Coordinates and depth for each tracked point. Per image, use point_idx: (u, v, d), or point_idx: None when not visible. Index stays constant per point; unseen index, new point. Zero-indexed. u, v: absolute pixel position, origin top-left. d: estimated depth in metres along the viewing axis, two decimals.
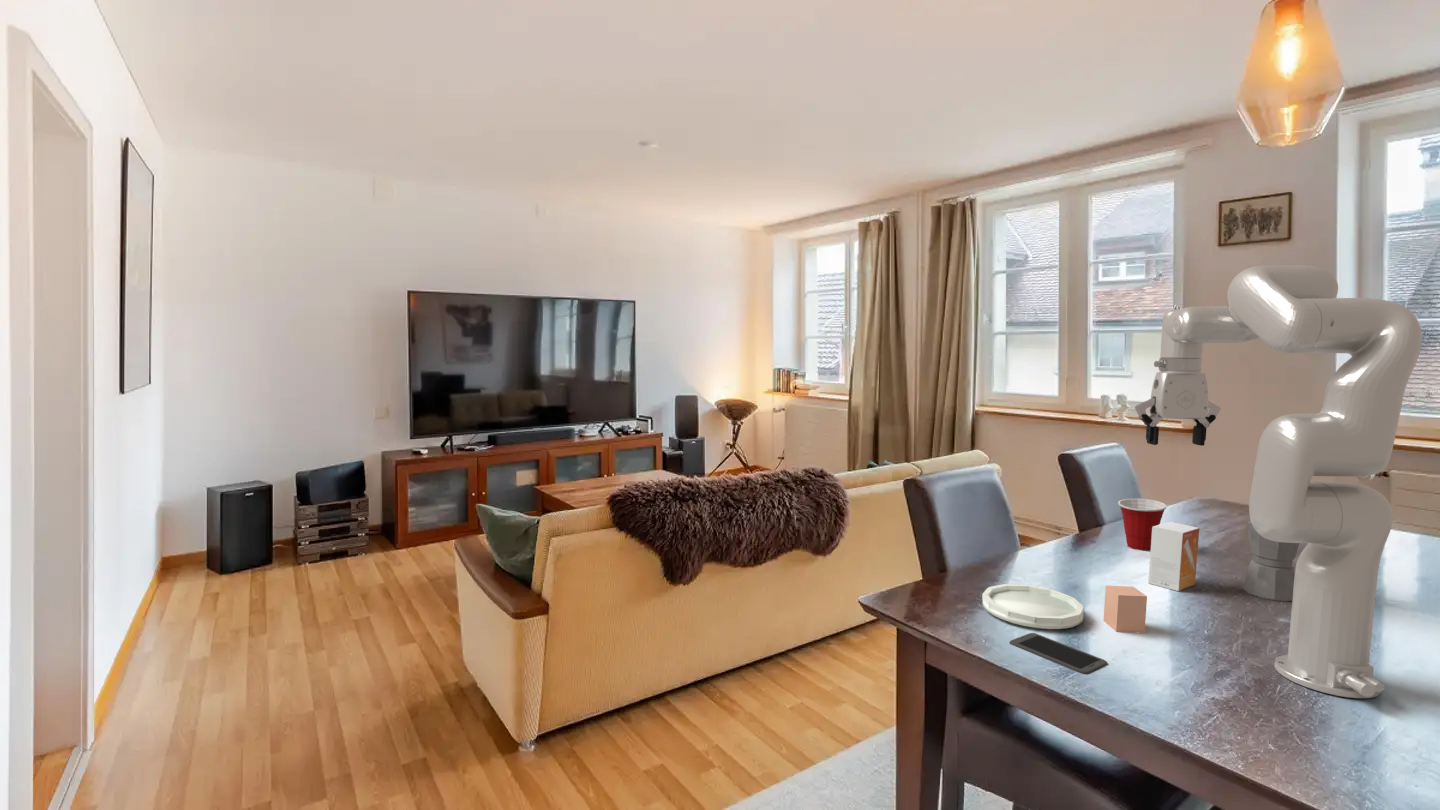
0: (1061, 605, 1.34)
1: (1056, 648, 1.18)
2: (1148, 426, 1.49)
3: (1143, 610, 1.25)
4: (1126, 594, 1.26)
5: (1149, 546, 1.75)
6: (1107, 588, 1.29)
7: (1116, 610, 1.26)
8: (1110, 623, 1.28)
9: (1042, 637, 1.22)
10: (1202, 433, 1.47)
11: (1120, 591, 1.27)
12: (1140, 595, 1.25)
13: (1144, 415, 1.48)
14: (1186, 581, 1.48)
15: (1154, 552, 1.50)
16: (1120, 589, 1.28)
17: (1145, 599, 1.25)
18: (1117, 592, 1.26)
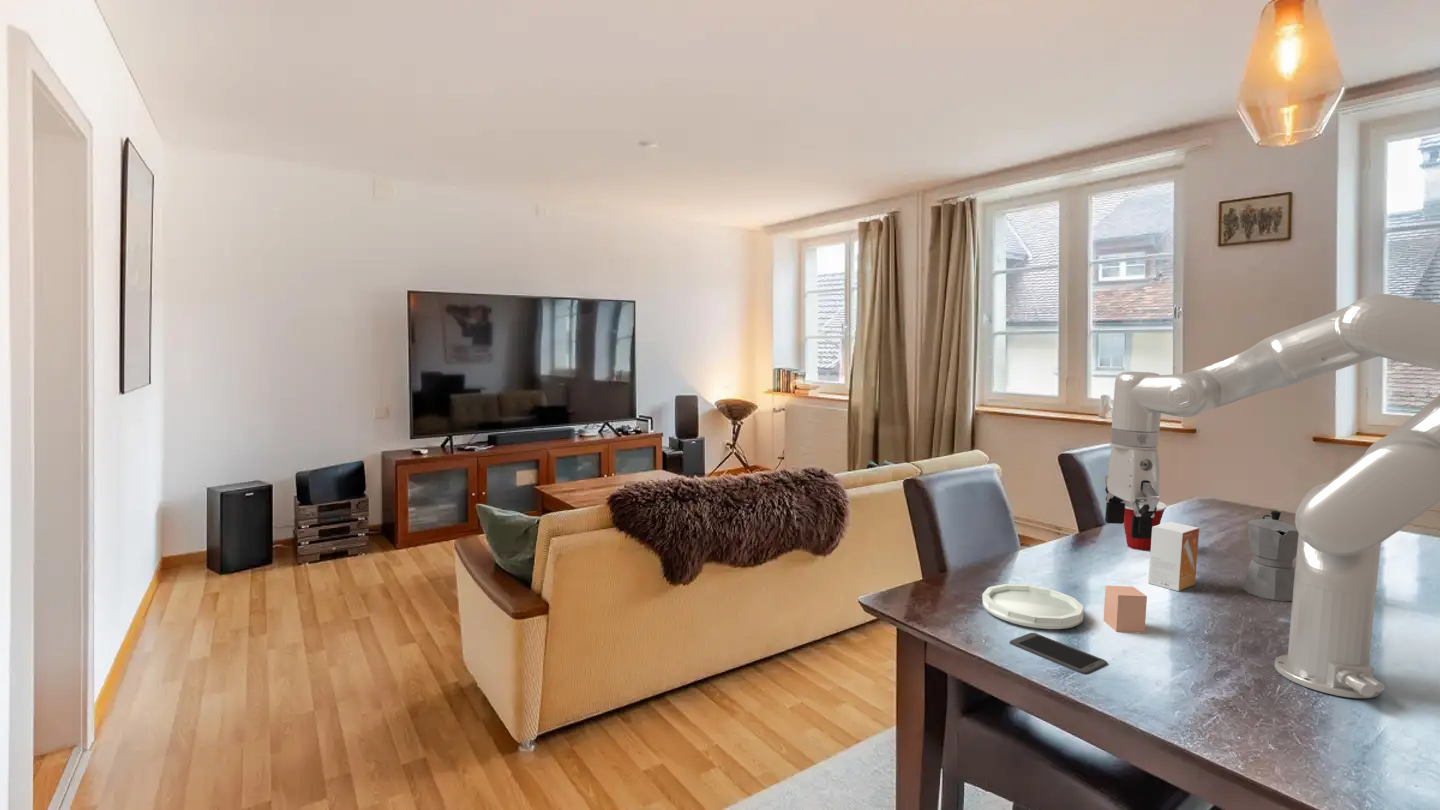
0: (1061, 605, 1.34)
1: (1056, 648, 1.18)
2: (1145, 518, 1.20)
3: (1143, 610, 1.25)
4: (1126, 594, 1.26)
5: (1149, 546, 1.75)
6: (1107, 588, 1.29)
7: (1116, 610, 1.26)
8: (1110, 623, 1.28)
9: (1042, 637, 1.22)
10: (1124, 510, 1.31)
11: (1119, 591, 1.27)
12: (1140, 595, 1.25)
13: None
14: (1186, 581, 1.48)
15: (1154, 552, 1.50)
16: (1119, 589, 1.28)
17: (1145, 599, 1.25)
18: (1117, 592, 1.26)
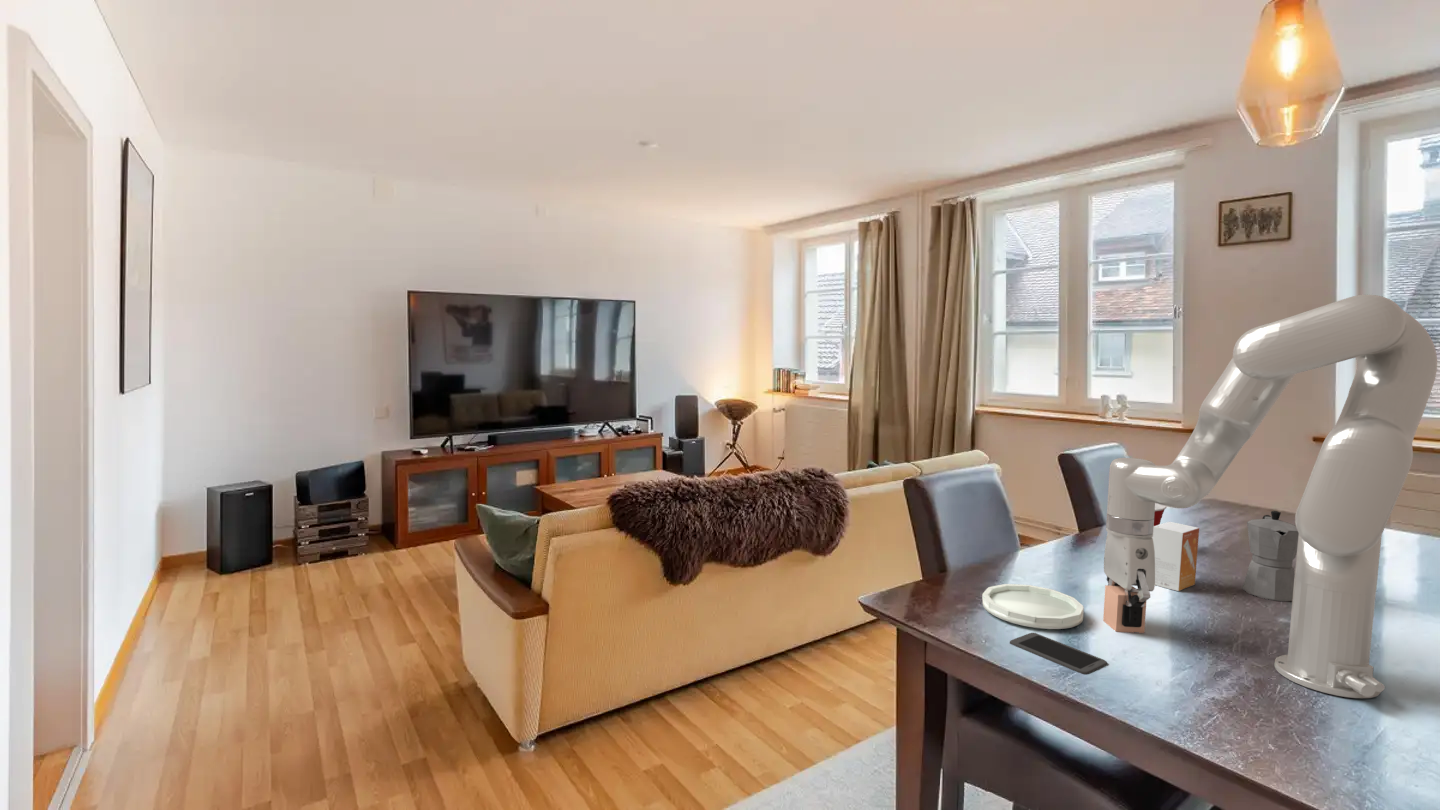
0: (1061, 605, 1.34)
1: (1056, 648, 1.18)
2: (1135, 607, 1.24)
3: (1143, 610, 1.25)
4: None
5: None
6: (1107, 588, 1.29)
7: (1116, 610, 1.26)
8: (1110, 623, 1.28)
9: (1042, 637, 1.22)
10: None
11: (1119, 591, 1.27)
12: None
13: None
14: (1186, 581, 1.48)
15: None
16: (1119, 589, 1.28)
17: None
18: (1117, 592, 1.26)
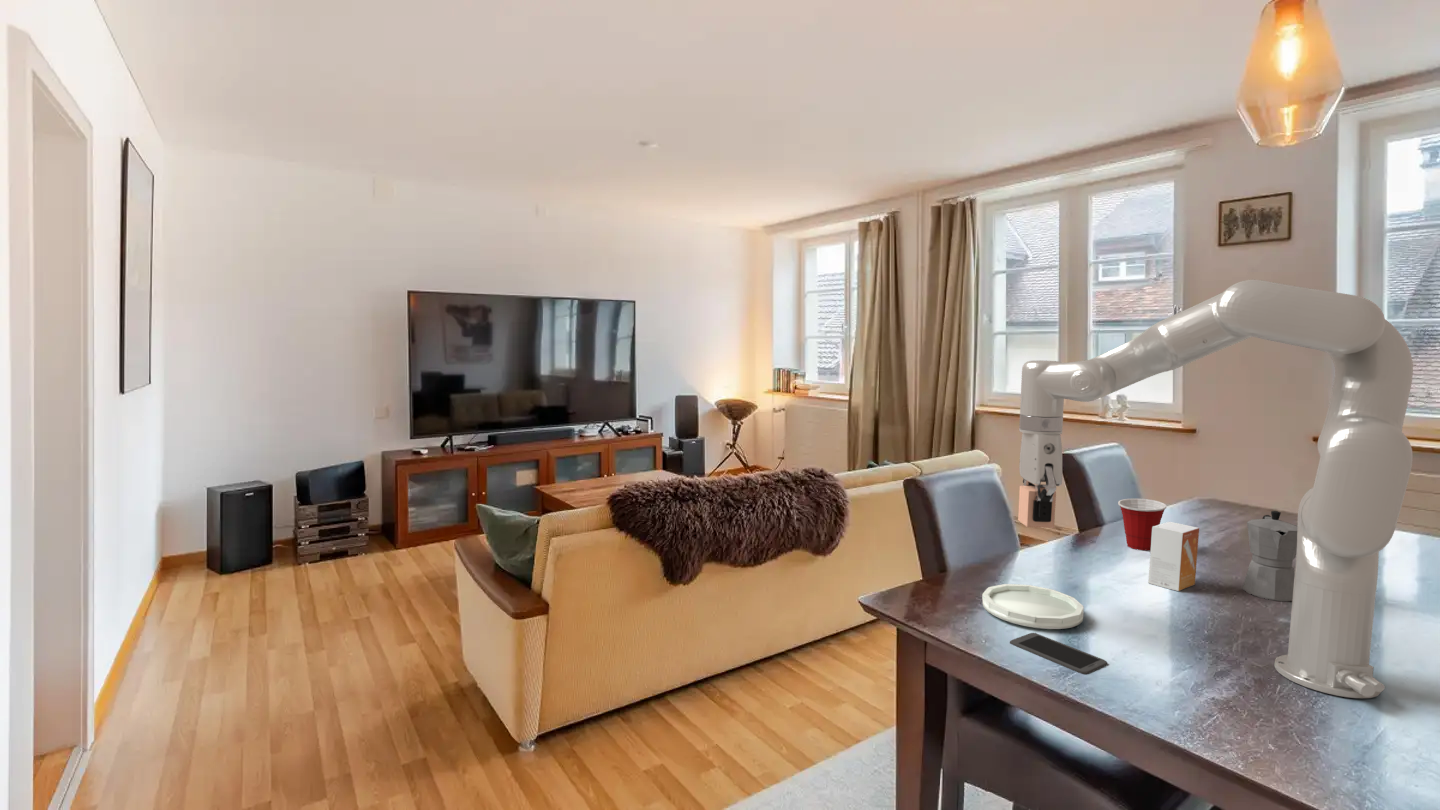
0: (1061, 605, 1.34)
1: (1056, 648, 1.18)
2: (1044, 502, 1.28)
3: (1052, 505, 1.29)
4: None
5: (1149, 546, 1.75)
6: (1021, 487, 1.34)
7: (1027, 506, 1.30)
8: (1023, 520, 1.32)
9: (1043, 637, 1.22)
10: None
11: (1031, 488, 1.32)
12: None
13: None
14: (1186, 581, 1.48)
15: (1154, 552, 1.50)
16: (1032, 488, 1.32)
17: (1054, 494, 1.29)
18: (1028, 489, 1.31)
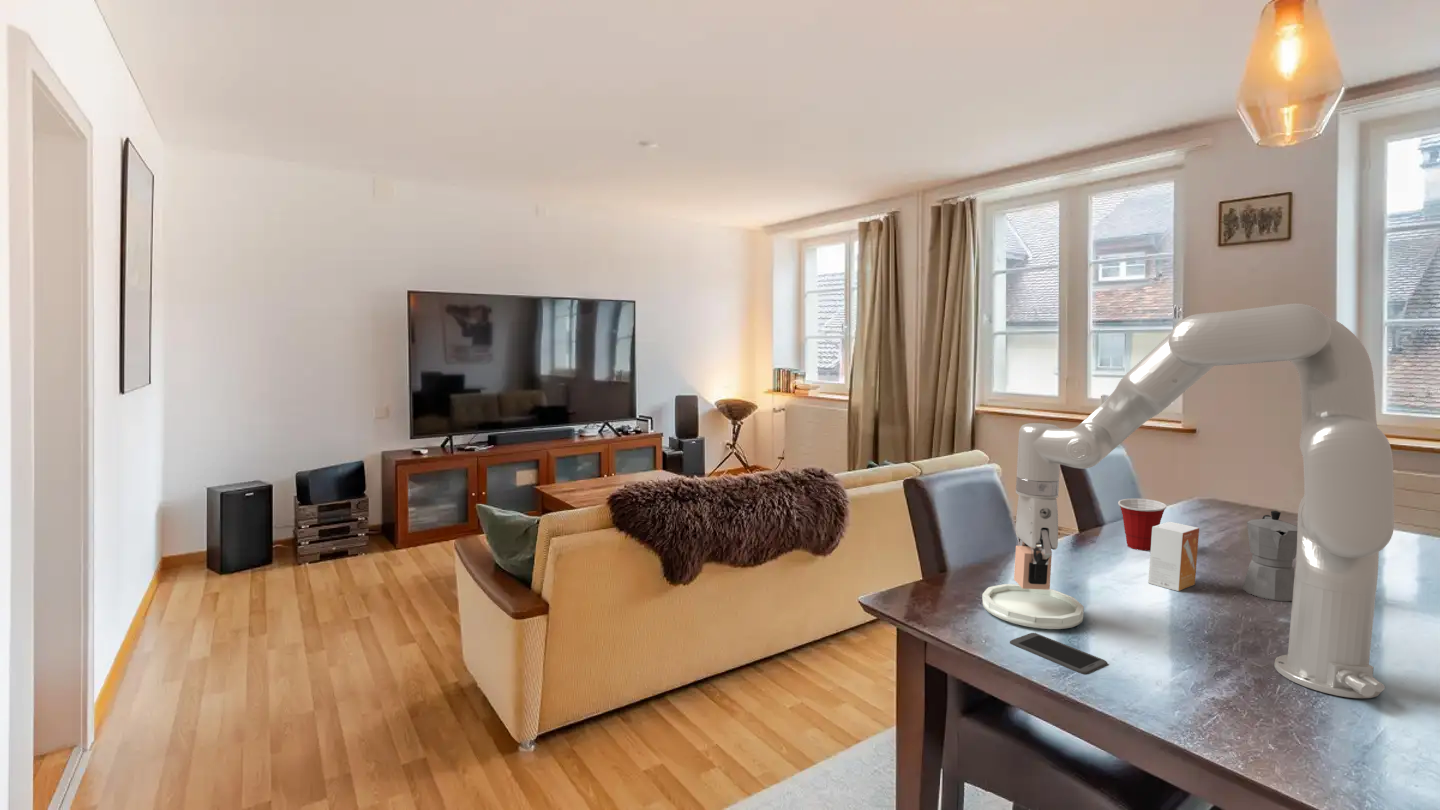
0: (1061, 605, 1.34)
1: (1056, 648, 1.18)
2: (1040, 565, 1.29)
3: (1048, 567, 1.31)
4: None
5: (1149, 546, 1.75)
6: (1017, 548, 1.35)
7: (1023, 568, 1.31)
8: (1018, 581, 1.34)
9: (1043, 637, 1.22)
10: None
11: (1027, 550, 1.33)
12: None
13: None
14: (1186, 581, 1.48)
15: (1154, 552, 1.50)
16: (1028, 549, 1.34)
17: (1050, 557, 1.30)
18: (1024, 551, 1.32)
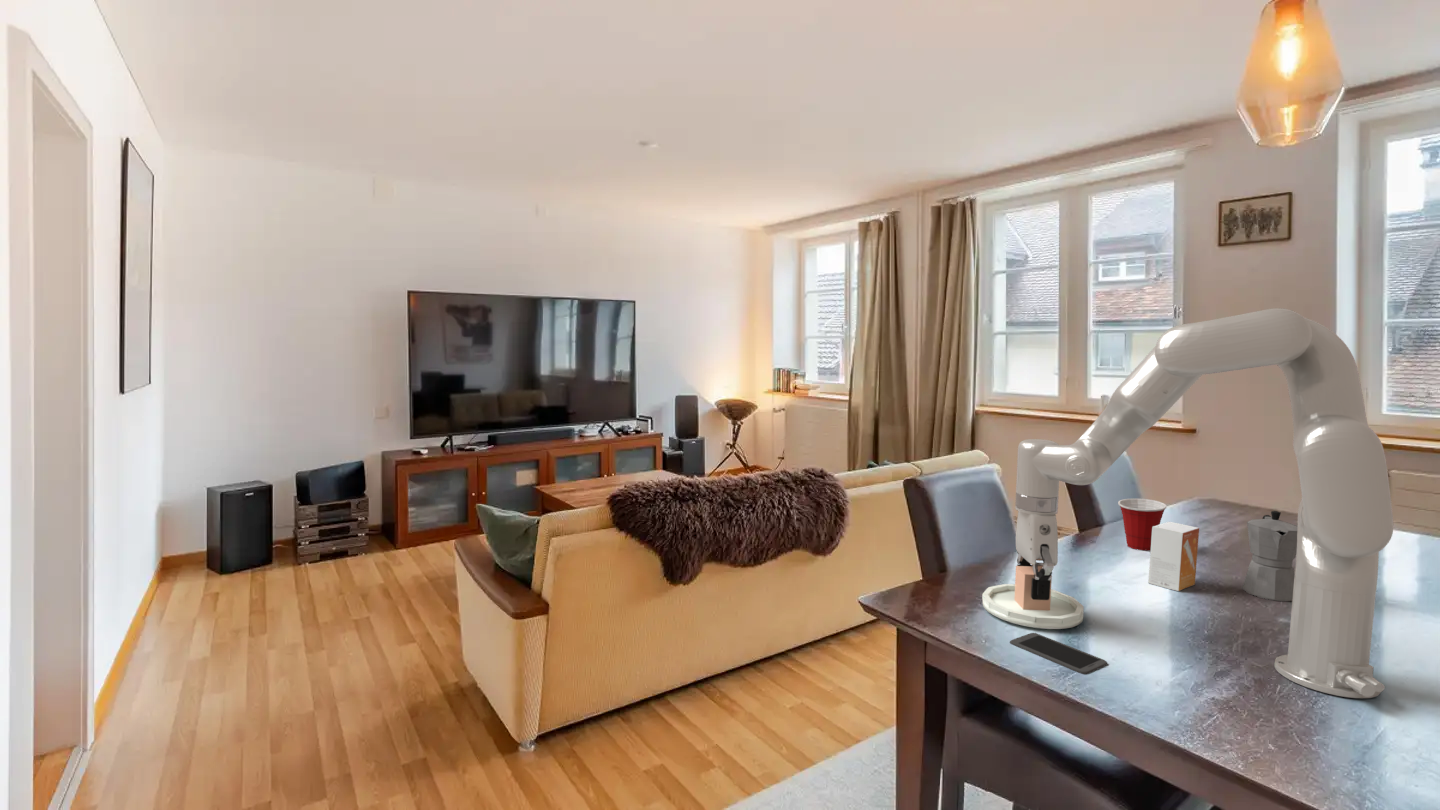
0: (1061, 605, 1.34)
1: (1056, 648, 1.18)
2: (1043, 581, 1.28)
3: None
4: (1032, 573, 1.32)
5: (1149, 546, 1.75)
6: (1017, 568, 1.35)
7: (1023, 589, 1.32)
8: (1019, 601, 1.34)
9: (1043, 637, 1.22)
10: None
11: (1027, 570, 1.33)
12: None
13: None
14: (1186, 581, 1.48)
15: (1154, 552, 1.50)
16: (1028, 569, 1.34)
17: None
18: (1024, 571, 1.32)
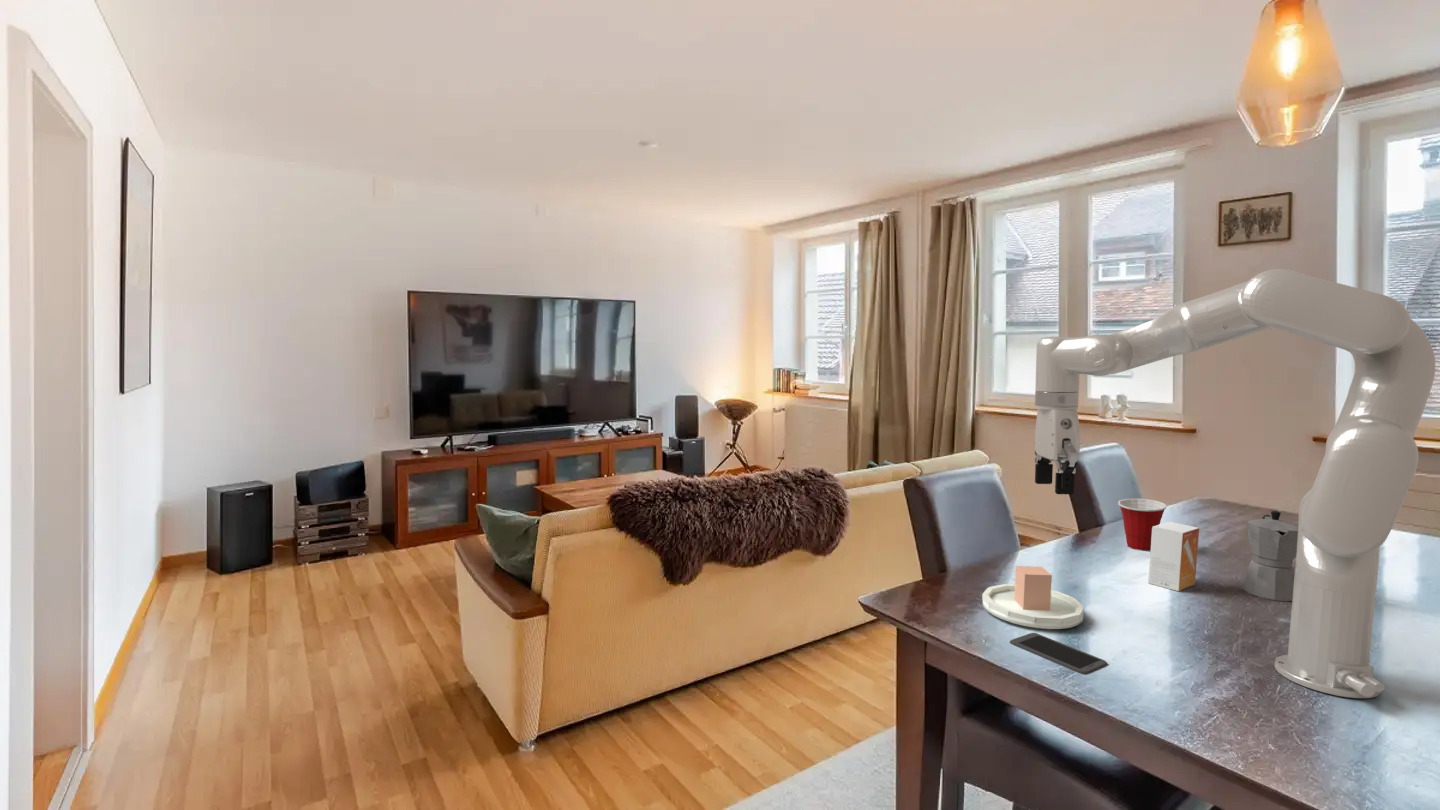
0: (1061, 605, 1.34)
1: (1056, 648, 1.18)
2: (1067, 474, 1.26)
3: (1048, 588, 1.31)
4: (1032, 573, 1.32)
5: (1149, 546, 1.75)
6: (1017, 568, 1.35)
7: (1023, 589, 1.32)
8: (1019, 601, 1.34)
9: (1043, 637, 1.22)
10: (1052, 470, 1.36)
11: (1027, 570, 1.33)
12: (1045, 574, 1.31)
13: (1075, 462, 1.24)
14: (1186, 581, 1.48)
15: (1154, 552, 1.50)
16: (1028, 569, 1.34)
17: (1050, 578, 1.31)
18: (1024, 571, 1.32)
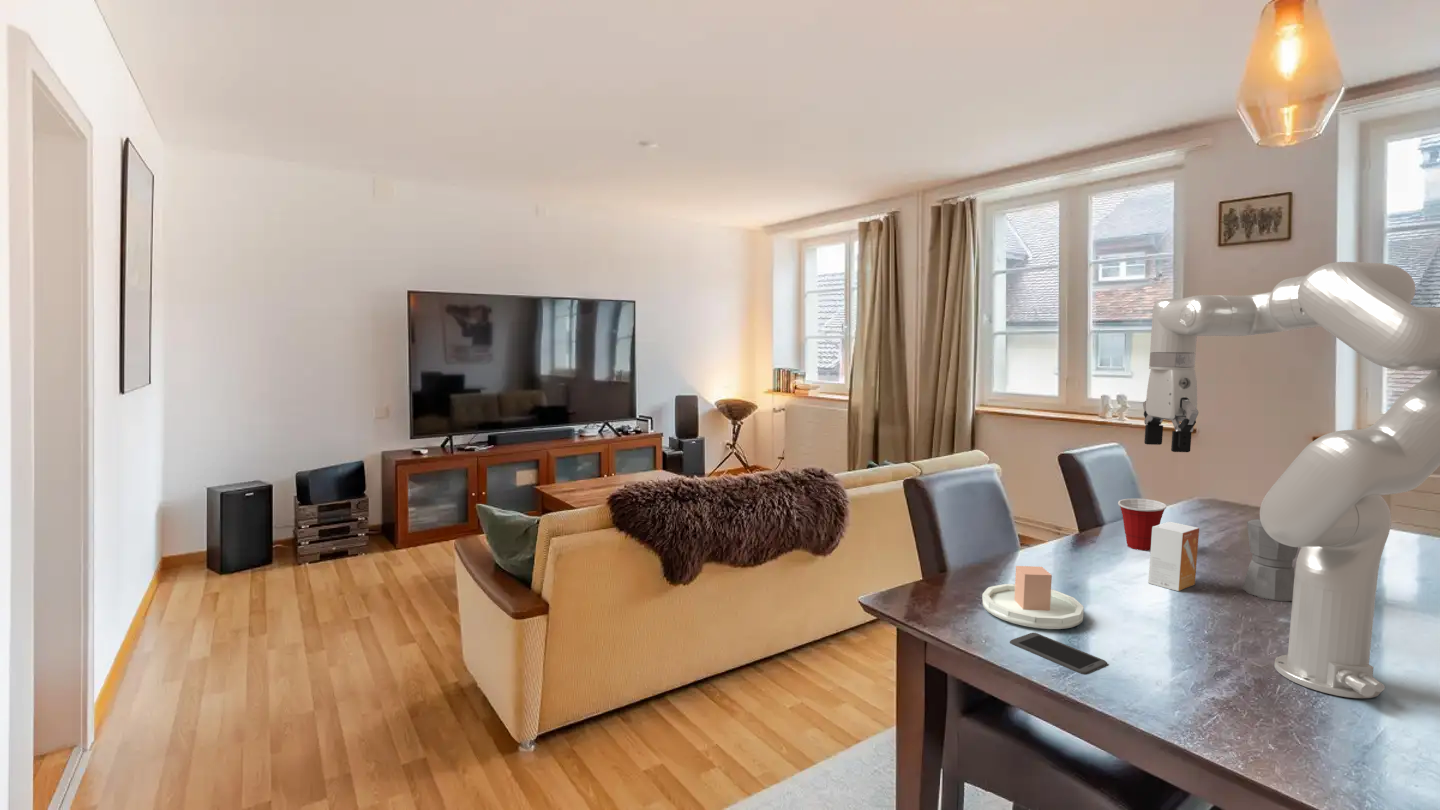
0: (1061, 605, 1.34)
1: (1056, 648, 1.18)
2: (1185, 432, 1.30)
3: (1048, 588, 1.31)
4: (1032, 573, 1.32)
5: (1149, 546, 1.75)
6: (1017, 568, 1.35)
7: (1023, 588, 1.32)
8: (1019, 601, 1.34)
9: (1043, 637, 1.22)
10: None
11: (1027, 570, 1.33)
12: (1045, 574, 1.31)
13: None
14: (1186, 581, 1.48)
15: (1154, 552, 1.50)
16: (1028, 569, 1.34)
17: (1050, 578, 1.31)
18: (1024, 571, 1.32)
